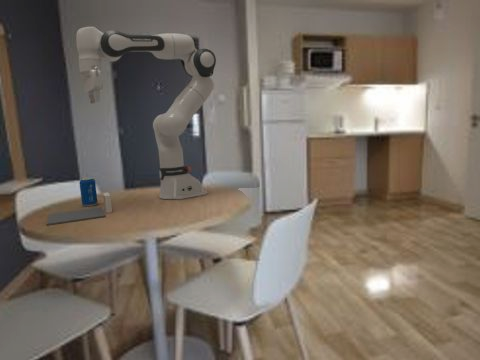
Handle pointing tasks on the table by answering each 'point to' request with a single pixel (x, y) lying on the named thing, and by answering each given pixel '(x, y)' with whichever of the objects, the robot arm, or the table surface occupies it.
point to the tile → (107, 202)
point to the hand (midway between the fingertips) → (94, 102)
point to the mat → (75, 216)
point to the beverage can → (88, 191)
